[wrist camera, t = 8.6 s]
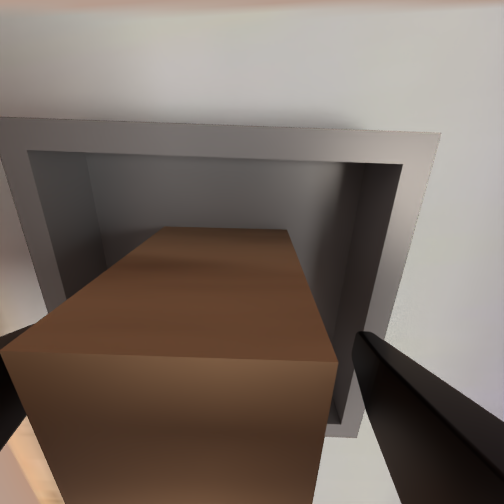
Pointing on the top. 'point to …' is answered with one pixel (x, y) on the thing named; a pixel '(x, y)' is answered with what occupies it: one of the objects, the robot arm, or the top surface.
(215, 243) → the walnut block
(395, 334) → the top surface
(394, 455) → the robot arm
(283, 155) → the grey square tray
